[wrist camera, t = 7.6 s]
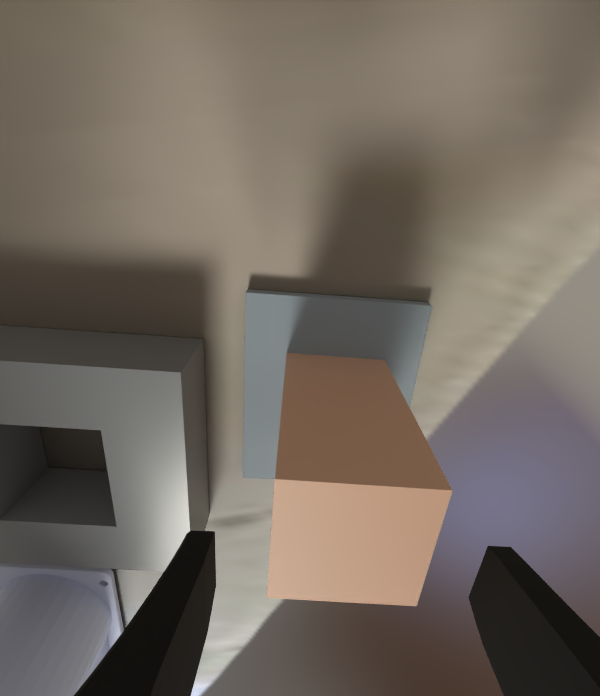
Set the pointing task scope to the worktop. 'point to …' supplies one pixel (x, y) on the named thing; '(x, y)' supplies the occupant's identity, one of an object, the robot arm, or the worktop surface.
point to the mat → (318, 352)
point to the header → (118, 441)
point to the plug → (351, 487)
